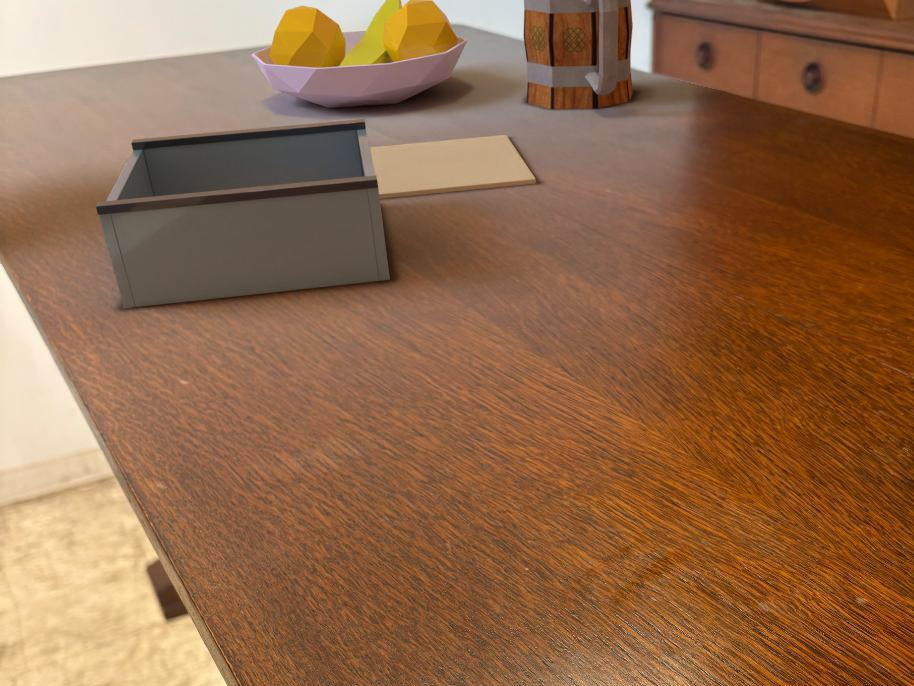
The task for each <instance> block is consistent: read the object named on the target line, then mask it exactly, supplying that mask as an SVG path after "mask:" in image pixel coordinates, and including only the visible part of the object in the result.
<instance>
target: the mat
mask: <svg viewBox="0 0 914 686" xmlns="http://www.w3.org/2000/svg"><path fill="white" fill-rule="evenodd" d="M370 151H371V156H372V161H373V165H374V170H375V175H376V176H377V182H378V190H379V198H380V200H381V199H382V200H383V199H393V198H403V197H404V198H405V197H413V196H423V195H434V194H443V193H453V192H462V191H463V192H464V191H474V190H484V189H494V188H504V187H515V186H516V187H517V186H524V185H525V186H526V185H535V184H537V180H536V177H535V176H534V174H533V173H532V171H531V170H530V168H529V167H528V165H527V163H526V162H525V161H524V159H523V158H522V157H521V155H520V153H519V152H518V151H517V149H516V147H515V146H514V145H513V143H512V142H511V140H510V139H509V137H508V135H507V134H499V135H490V136H478V137H467V138H457V139H455V138H454V139H446V140H445V139H444V140H435V141H423V142H412V143H402V144H392V145H391V144H390V145H382V146H370Z"/></svg>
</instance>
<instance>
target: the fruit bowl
mask: <svg viewBox="0 0 914 686" xmlns="http://www.w3.org/2000/svg"><path fill="white" fill-rule="evenodd" d="M271 41H272V42H271V45H269V46H267V47H265V48H263V49H260V50H258V51H256V52H253V53H251V57H252V59H253V60H254V61H255V63H256V65H257V66H258V67H259V69H260V71H261V72H262V74H263V76H264V77H265V78H266V80H267V81H268V83H269V85H270V86H271V88H272V89H273V90H274V91H277V92H281V93H283V94H286V95H289V96H292V97H295V98H299V99H301V100H304V101H306V102H307V101H308V102H310V103H313V104H316V105H319V106H322V107H324V108H328V109H333V108H335V109H336V108H347V107H348V108H349V107H350V108H351V107H365V106H378V105H380V106H381V105H394V104H396V105H397V104H399V103H402V102H404V101H407V100H408V99H410V98H412V97H414V96H416V95H418V94H420V93H422V92H424V91H426V90H427V89H430V88H432V87H434V86H436V85H439V84H440V83H442V82H444V81H446V80H448V79H450V78H451V76H452V74H453V72H454V70H455V68H456V66H457V64H458V62H459V59H460V57H461V55H462V53H463V50H464V49H465V47H466V44H467V43H468V39H466V38H464V37H461V36H459V35H457V34H456V32H455V31H454V28H453V26H452V25H451V22H450V21H449V18H448V16H447V14H446V13H445V12H443V10H442V9H441V8H440V7H439V6H438V5H437V3H435V1H433V0H408V1H406V3H405V4H404V5H403V4H402V0H385V1H384V2H383V4H382V5H381V7H380V8H379V9H378V10H377V12H376V13H375V15H373V17H372V19H371V21H370V23H369V25H368V27H367V29H366V30H359V31H344V32H343V31H342V29H341V27H340V24H339V23H337V22H336V21H335V20H333V19H332V18H330V17H329V16H328V15H326V14H325V13H324V12H322V11H321V10H320V9H319V8H316V7H311V6H306V5H300V6H296V7H293V8H290V9H289V8H288V9H286V10H285V11H284V13H283V15H282V17H281V19H280V21H279V23H278V25H277V27H276V29H275V31H274V33H273V37H272V40H271Z"/></svg>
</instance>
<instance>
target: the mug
mask: <svg viewBox="0 0 914 686" xmlns="http://www.w3.org/2000/svg"><path fill="white" fill-rule="evenodd" d="M523 7H524V8H523V9H524V10H523V42H524V51H525V59H526V72H527V73H526V74H527V75H526V76H527V87H526V104H528V105H529V104H530V105H533V106H537V107H541V108H544V109H549V110H596V109H602V108H605V107H610V106H615V105H621V104H624V103H628V102H629V103H630V101H631V98H632V96H633V93H634V90H633V81H632V72H631V71H632V69H631V64H632V63H631V59H632V57H631V56H632V55H631V52H632V38H633V29H634V28H633V25H634V23H633V12H632V1H631V0H523Z"/></svg>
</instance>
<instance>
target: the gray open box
mask: <svg viewBox="0 0 914 686" xmlns="http://www.w3.org/2000/svg"><path fill="white" fill-rule="evenodd" d="M130 144H131V148H132V151H131V153H130V155H129V157H128V159H127V160H126V162H125V165H124V166H123V168H122V169H121V172H120V173H119V176H118V178H117V180H116V181H115V183H114V185H113V187H112V189H111V190H110V192H109V195H108V197H107V199H106V200H105V201H98V202H97V204H96V206H95V209H96V213H97V215H98V218H99V221H100V224H101V228H102V232H103V236H104V240H105V243H106V246H107V250H108V251H107V252H108V254H109V257H110V258H109V259H110V262H111V264H112V269H113V272H114V276H115V280H116V284H117V288H118V291H119V295H120V298H121V302H122V306H123V308H124V309H131V308H139V307H141V308H142V307H149V306H158V305H159V306H160V305H166V304H167V305H169V304H175V303H176V304H177V303H186V302H187V303H188V302H196V301H204V300H205V301H206V300H214V299H223V298H233V297H242V296H251V295H261V294H270V293H278V292H280V293H281V292H287V291H289V292H290V291H299V290H307V289H317V288H324V287H334V286H344V285H352V284H363V283H372V282H379V281H380V282H381V281H382V282H383V281H389V280H391V276H390V270H389V259H388V253H387V247H386V245H387V244H386V238H385V230H384V221H383V214H382V207H381V201H380V200H381V199H380V198H379V190H378V182H377V176H376V175H375V170H374V165H373V161H372V156H371V151H370V147H371V146H370V141H369V137H368V133H367V126H366V120H365V119H364V118H359V119H350V120H349V119H348V120H338V121H326V122H315V123H306V124H305V123H303V124H295V125H294V124H293V125H292V124H291V125H282V126H281V125H280V126H270V127H257V128H248V129H237V130H235V129H234V130H225V131H224V130H223V131H214V132H202V133H191V134H180V135H179V134H178V135H170V136H169V135H167V136H158V137H147V138H135V139H132V140H131V143H130Z"/></svg>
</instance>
